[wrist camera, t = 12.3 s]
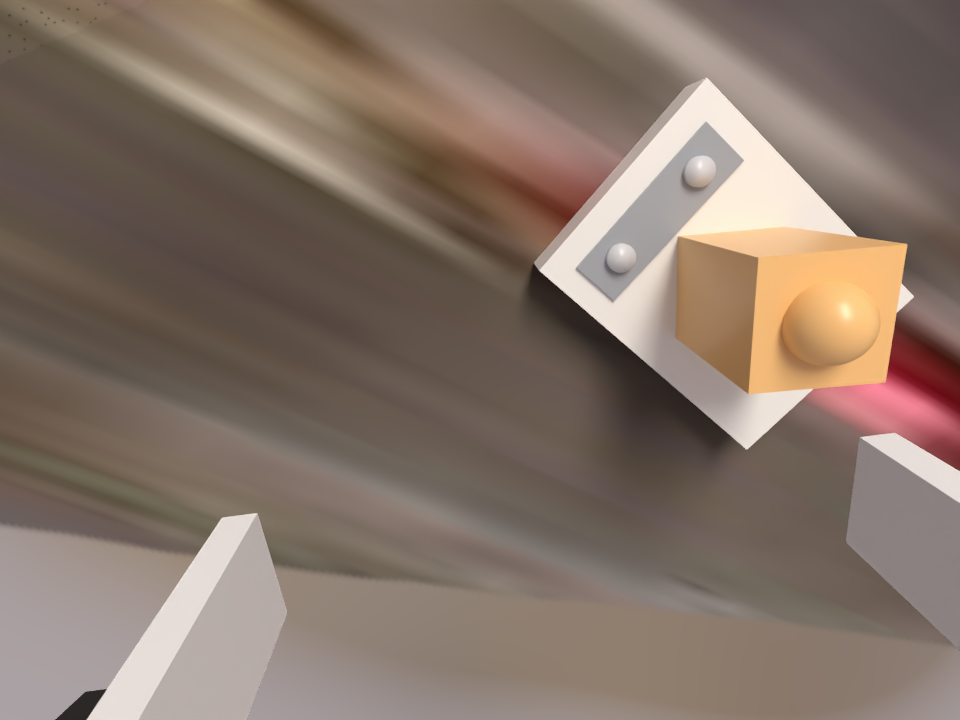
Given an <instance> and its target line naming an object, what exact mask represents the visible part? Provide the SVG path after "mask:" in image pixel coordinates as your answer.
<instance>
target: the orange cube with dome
mask: <svg viewBox="0 0 960 720" xmlns="http://www.w3.org/2000/svg"><path fill="white" fill-rule="evenodd" d="M906 250H907V244H903V243H896V242H889V241H882V240H875V239H868V238H861V237H854V236H847V235H841V234H834V233H827V232H820V231H813V230H806V229H799V228H792V227H774V228H763V229H752V230H741V231H730V232H719V233H708V234H697V235H686V236H678V267H677V304H676V339H677V340H679V341H680V342H681V343H683V344H684V345H685V346H687V347H688V348H689V349H690V350H692V351H693V352H694V353H696V354H697V355H698V356H699V357H701V358H702V359H703V360H705V361H706V362H707V363H709V364H710V365H711V366H712V367H714V368H715V369H716V370H718V371H719V372H720V373H722V374H723V375H724V376H725V377H727V378H728V379H729V380H731V381H732V382H733V383H734V384H736V385H737V386H738V387H740V388H741V389H742V390H744V391H745V392H746V393H747V394H757V393H769V392H780V391H792V390H804V389H815V388H827V387H838V386H850V385H861V384H873V383H884V382H886V376H887V369H888V363H889V357H890V351H891V344H892V338H893V332H894V325H895V319H896V313H897V306H898V300H899V294H900V287H901V281H902V275H903V269H904V262H905V256H906Z"/></svg>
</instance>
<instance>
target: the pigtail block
mask: <svg viewBox="0 0 960 720" xmlns="http://www.w3.org/2000/svg"><path fill="white" fill-rule="evenodd" d="M774 227H792V228H799V229H806V230H813V231H820V232H827V233H834V234H841V235H847V236H854V237H857V236H856V235H855V234H854V233H853V232H852V231H851V230H850V228H849V227H848V226H847V225H846V224H845V223H844V222H843V221H842V220H841V219H840V218H839V217H838V216H837V215H836V214H835V213H834V212H833V211H832V209H831V208H830V207H829V206H828V205H827V204H826V203H825V202H824V201H823V200H822V199H821V198H820V197H819V196H818V195H817V194H816V193H815V191H814V190H813V189H812V188H811V187H810V186H809V185H808V184H807V183H806V182H805V181H804V180H803V179H802V178H801V177H800V176H799V175H798V174H797V172H796V171H795V170H794V169H793V168H792V167H791V166H790V165H789V164H788V163H787V162H786V161H785V160H784V159H783V158H782V157H781V156H780V154H779V153H778V152H777V151H776V150H775V149H774V148H773V147H772V146H771V145H770V144H769V143H768V142H767V141H766V140H765V139H764V138H763V137H762V135H761V134H760V133H759V132H758V131H757V130H756V129H755V128H754V127H753V126H752V125H751V124H750V123H749V122H748V121H747V120H746V119H745V117H744V116H743V115H742V114H741V113H740V112H739V111H738V110H737V109H736V108H735V107H734V106H733V105H732V104H731V103H730V102H729V101H728V100H727V98H726V97H725V96H724V95H723V94H722V93H721V92H720V91H719V90H718V89H717V88H716V87H715V86H714V85H713V84H712V83H711V82H710V80H709V79H708V78H704V79H702V80H700V81H698V82H695V83H693V84H691V85H689V86H686V87H685V88H684V89H683V90H682V91H681V92H680V94H679V95H678V96H677V97H676V98H675V99H674V101H673V102H672V103H671V104H670V105H669V106H668V107H667V109H666V110H665V111H664V112H663V113H662V114H661V116H660V117H659V118H658V119H657V120H656V121H655V123H654V124H653V125H652V126H651V127H650V128H649V130H648V131H647V132H646V133H645V134H644V135H643V137H642V138H641V139H640V140H639V141H638V142H637V143H636V145H635V146H634V147H633V148H632V149H631V150H630V152H629V153H628V154H627V155H626V156H625V157H624V159H623V160H622V161H621V162H620V163H619V164H618V166H617V167H616V168H615V169H614V170H613V171H612V173H611V174H610V175H609V176H608V177H607V178H606V179H605V181H604V182H603V183H602V184H601V185H600V186H599V188H598V189H597V190H596V191H595V192H594V193H593V195H592V196H591V197H590V198H589V199H588V200H587V202H586V203H585V204H584V205H583V206H582V207H581V209H580V210H579V211H578V212H577V213H576V214H575V215H574V217H573V218H572V219H571V220H570V221H569V222H568V224H567V225H566V226H565V227H564V228H563V229H562V231H561V232H560V233H559V234H558V235H557V236H556V238H555V239H554V240H553V241H552V242H551V243H550V245H549V246H548V247H547V248H546V249H545V250H544V251H543V253H542V254H541V255H540V256H539V257H538V258H537V260H536V261H535V262H534V264H535V266H536V267H537V268H538V270H539V271H540V272H541V273H543V274H544V275H545V276H546V277H547V278H548V279H549V280H551V281H552V282H553V283H554V284H555V285H556V286H558V287H559V288H560V289H561V290H562V291H563V292H565V293H566V294H567V295H568V296H569V297H570V298H571V299H573V300H574V301H575V302H576V303H577V304H578V305H580V306H581V307H582V308H583V309H584V310H585V311H587V312H588V313H589V314H590V315H591V316H592V317H594V318H595V319H596V320H597V321H598V322H599V323H600V324H602V325H603V326H604V327H605V328H606V329H607V330H609V331H610V332H611V333H612V334H613V335H614V336H616V337H617V338H618V339H619V340H620V341H621V342H623V343H624V344H625V345H626V346H627V347H628V348H629V349H631V350H632V351H633V352H634V353H635V354H636V355H638V356H639V357H640V358H641V359H642V360H643V361H645V362H646V363H647V364H648V365H649V366H650V367H651V368H653V369H654V370H655V371H656V372H657V373H658V374H660V375H661V376H662V377H663V378H664V379H665V380H667V381H668V382H669V383H670V384H671V385H672V386H674V387H675V388H676V389H677V390H678V391H679V392H680V393H682V394H683V395H684V396H685V397H686V398H687V399H689V400H690V401H691V402H692V403H693V404H694V405H696V406H697V407H698V408H699V409H700V410H701V411H703V412H704V413H705V414H706V415H707V416H708V417H709V418H711V419H712V420H713V421H714V422H715V423H716V424H718V425H719V426H720V427H721V428H722V429H723V430H725V431H726V432H727V433H728V434H729V435H730V436H731V437H733V438H734V439H735V440H736V441H737V442H738V443H740V444H741V445H742V446H743V447H744V448H745V449H748V448H749V447H750V446H751V445H753V444H754V443H755V442H756V441H757V440H758V439H759V438H760V437H761V436H762V435H763V434H765V433H766V432H767V431H768V430H769V429H770V428H771V427H772V426H773V425H774V424H776V423H777V422H778V421H779V420H780V419H781V418H782V417H783V416H784V415H785V414H786V413H788V412H789V411H790V410H791V409H792V408H793V407H794V406H795V405H796V404H797V403H799V402H800V401H801V400H802V399H803V398H804V397H805V396H806V395H807V394H808V393H809V392H811V391H812V390H813V389H804V390H792V391H780V392H769V393H757V394H747V393H746V392H745V391H744V390H742V389H741V388H740V387H738V386H737V385H736V384H734V383H733V382H732V381H731V380H729V379H728V378H727V377H725V376H724V375H723V374H722V373H720V372H719V371H718V370H716V369H715V368H714V367H712V366H711V365H710V364H709V363H707V362H706V361H705V360H703V359H702V358H701V357H699V356H698V355H697V354H696V353H694V352H693V351H692V350H690V349H689V348H688V347H687V346H685V345H684V344H683V343H681V342H680V341H679V340H677V339H676V304H677V267H678V236H686V235H697V234H708V233H719V232H730V231H741V230H752V229H763V228H774ZM913 297H914V296H913V295H912V294H911V293H910V292H909V291H908V290H907V289H906V288H905V287H904V286H903V285H902V283H901V287H900V294H899V300H898V306H897V312H898V311H899V310H900V309H901V308H902V307H904V306H905V305H906V304H907V303H908V302H909V301H910V300H911V299H912V298H913Z"/></svg>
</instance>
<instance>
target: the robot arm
mask: <svg viewBox="0 0 960 720" xmlns="http://www.w3.org/2000/svg"><path fill="white" fill-rule="evenodd" d="M846 543H847V544H848V545H849V546H850V547H852V548H853V549H854V550H855V551H856V552H857V553H858V554H859V555H860V556H861V557H862V558H863V559H864V560H865V561H866V562H867V563H868V564H869V565H870V566H872V567H873V568H874V569H875V570H876V571H877V572H878V573H879V574H880V575H881V576H882V577H883V578H884V579H885V580H886V581H887V582H888V583H889V584H890V585H892V586H893V587H894V588H895V589H896V590H897V591H898V592H899V593H900V594H901V595H902V596H903V597H904V598H905V599H906V600H907V601H908V602H909V603H910V604H911V605H913V606H914V607H915V608H916V609H917V610H918V611H919V612H920V613H921V614H922V615H923V616H924V617H925V618H926V619H927V620H928V621H929V622H930V623H931V624H933V625H934V626H935V627H936V628H937V629H938V630H939V631H940V632H941V633H942V634H943V635H944V636H945V637H946V638H947V639H948V640H949V641H950V642H951V643H952V644H954V645H955V646H956V647H957V648H958V649H959V650H960V471H958V470H956V469H955V468H953V467H951V466H950V465H948V464H946V463H945V462H943V461H941V460H940V459H938V458H936V457H935V456H933V455H931V454H930V453H928V452H926V451H925V450H923V449H921V448H919V447H918V446H916V445H914V444H913V443H911V442H909V441H908V440H906V439H904V438H903V437H901V436H899V435H898V434H896V433H890V434H882V435H874V436H866V437H860V440H859V447H858V455H857V462H856V470H855V477H854V485H853V492H852V500H851V507H850V515H849V522H848V530H847V537H846ZM286 615H287V610H286V607H285V603H284V599H283V596H282V593H281V590H280V586H279V583H278V580H277V577H276V573H275V570H274V566H273V563H272V560H271V557H270V553H269V550H268V547H267V543H266V540H265V537H264V533H263V530H262V527H261V523H260V520H259V517H258V514H257V513H255V514H247V515H239V516H231V517H223V518H222V519H221V520H220V522H219V523H218V525H217V526H216V528H215V529H214V531H213V532H212V534H211V535H210V536H209V538H208V539H207V541H206V542H205V544H204V545H203V547H202V548H201V550H200V551H199V553H198V554H197V556H196V557H195V559H194V560H193V562H192V563H191V565H190V566H189V568H188V569H187V571H186V572H185V574H184V575H183V577H182V578H181V580H180V581H179V583H178V584H177V586H176V587H175V589H174V590H173V592H172V593H171V595H170V596H169V598H168V599H167V601H166V602H165V604H164V605H163V607H162V608H161V610H160V611H159V613H158V614H157V616H156V617H155V619H154V620H153V622H152V623H151V625H150V626H149V627H148V629H147V631H146V632H145V633H144V635H143V637H142V638H141V639H140V641H139V642H138V644H137V645H136V647H135V648H134V650H133V652H132V653H131V654H130V656H129V657H128V659H127V660H126V662H125V663H124V665H123V666H122V668H121V669H120V671H119V672H118V674H117V675H116V677H115V678H114V680H113V681H112V683H111V684H110V686H109V687H108V689H104V690H96V691H89V692H85V693H84V694H83V695H82V696H81V697H80V698H78V700H76V701H75V702H74V703H73V704H72V705H71V706H70V707H69V708H68V709H66V710H65V711H64V712H63V713H62V714H61V715H60V716H59V717H58V718H57V719H56V720H247V718H248V716H249V713H250V710H251V707H252V705H253V702H254V700H255V697H256V695H257V692H258V688H259V686H260V684H261V681H262V679H263V676H264V673H265V671H266V668H267V666H268V663H269V660H270V657H271V655H272V652H273V650H274V647H275V644H276V642H277V639H278V636H279V634H280V631H281V629H282V626H283V623H284V621H285V618H286Z"/></svg>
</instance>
